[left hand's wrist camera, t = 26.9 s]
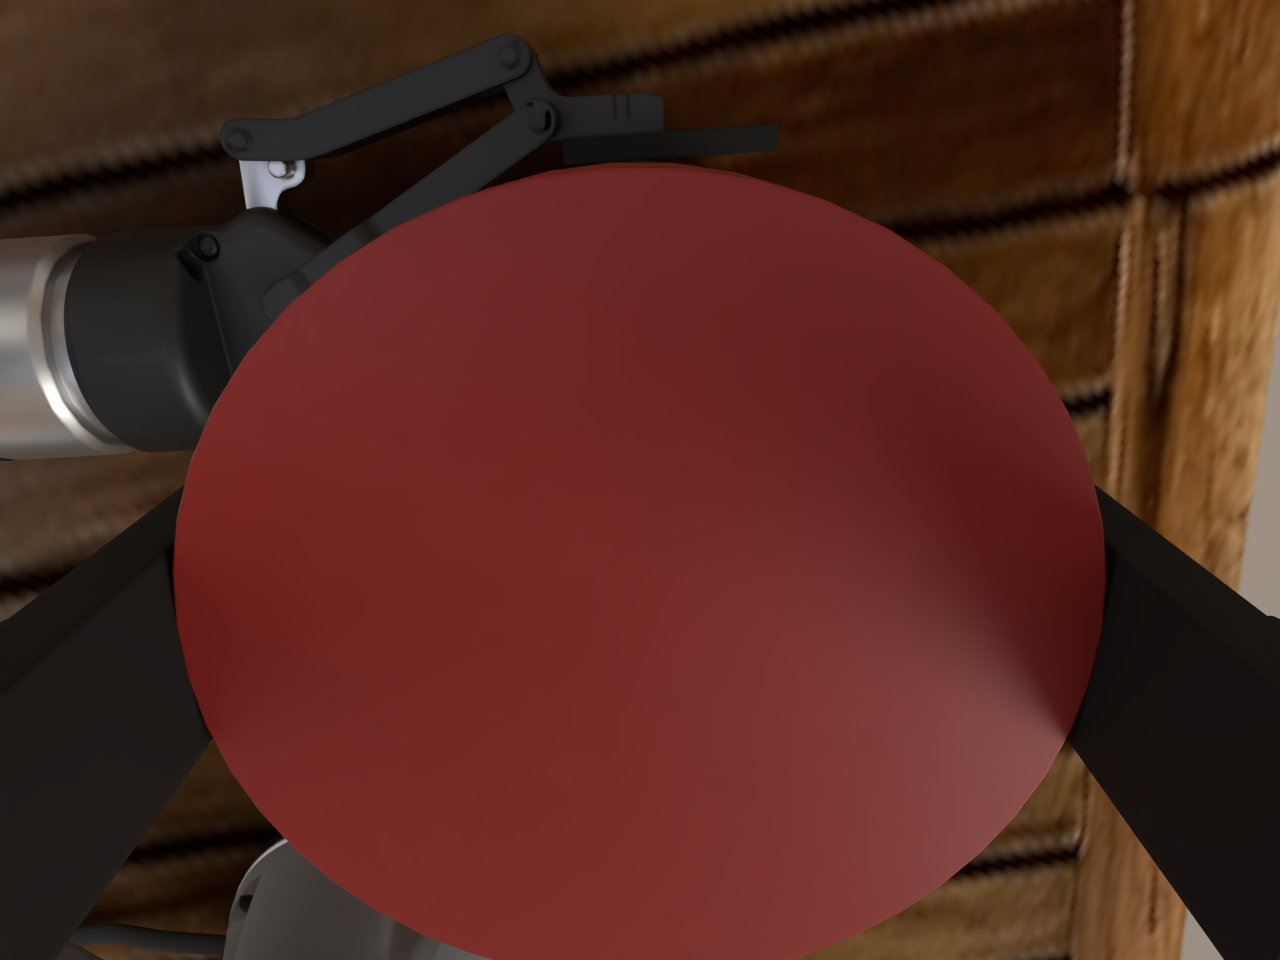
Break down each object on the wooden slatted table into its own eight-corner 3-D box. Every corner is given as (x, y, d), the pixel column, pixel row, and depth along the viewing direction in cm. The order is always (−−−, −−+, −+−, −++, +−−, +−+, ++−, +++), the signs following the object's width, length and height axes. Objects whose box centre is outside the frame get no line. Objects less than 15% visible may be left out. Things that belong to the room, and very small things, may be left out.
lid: (665, 979, 15) (669, 1087, 13) (90, 610, 12) (1, 686, 10) (1204, 552, 12) (1298, 622, 10) (596, -67, 9) (586, -113, 7)
